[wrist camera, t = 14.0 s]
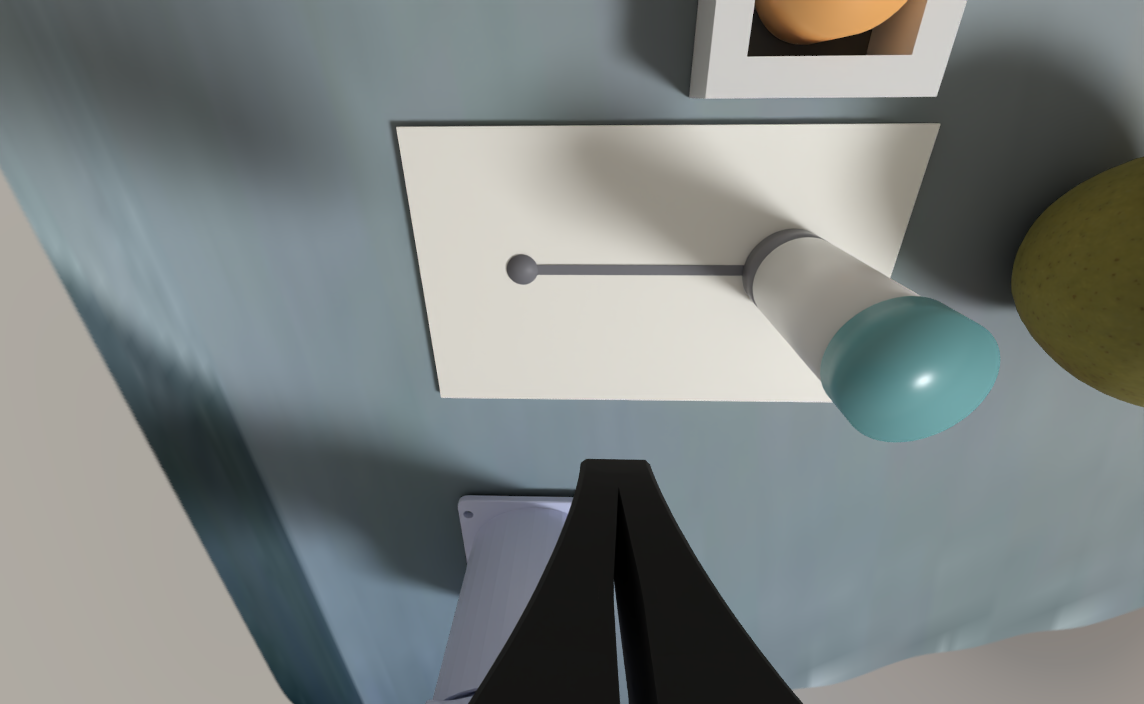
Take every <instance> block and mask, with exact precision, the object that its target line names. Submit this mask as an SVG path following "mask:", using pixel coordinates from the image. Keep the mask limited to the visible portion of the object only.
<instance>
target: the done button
mask: <svg viewBox="0 0 1144 704" xmlns="http://www.w3.org/2000/svg"><path fill="white" fill-rule="evenodd" d="M907 1H908V0H755V7H756V10H757V13H758V15H759V18H760V19H761V21H762V23H763V24H764V26H765V27H766V28H767V29H768V31H769V32H771V33H772V34H773V35H774V36H775V37H777V38H779V39H780V40H782V41H785V42H787V43H791V44H796V45H808V44H814V43H819V42H823V41H828V40H832V39H837V38H841V37H846V36H850V35H855V34H859V33H862V32H865V31H867V30H870V29H872V28H874V27H876V26H878V25H879V24H881V23H882V22H884V21H885V20H887V19H888V18H890V17H891V16H892V15H893V14H894V13H896V12H897V11H898V10H899V9H900V8H901V7H902V6H903V5H904V4H905V3H906V2H907Z"/></svg>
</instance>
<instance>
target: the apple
mask: <svg viewBox="0 0 1144 704" xmlns="http://www.w3.org/2000/svg"><path fill="white" fill-rule="evenodd" d="M1011 292H1012V295H1013V299H1014V302H1015V305H1016V308H1017V311H1018V314H1019V316H1020V318H1021V320H1022V321H1023V323H1024V325H1025V326H1026V328H1027V329H1028V331H1029V333H1030V334H1031V336H1032V337H1033V338H1034V339H1035V341H1036V342H1037V343H1038V344H1039V345H1040V346H1041V347H1042V348H1043V350H1044V351H1045V352H1046V353H1047V354H1048V355H1049V356H1050V357H1051V358H1052V359H1053V360H1054V361H1055V362H1056V363H1058V364H1059V365H1060V366H1061V367H1062V368H1064V369H1065V370H1066V371H1067V372H1069V373H1070V374H1071V375H1073V376H1074V377H1075V378H1077V379H1078V380H1080V381H1082V382H1084V383H1086V384H1087V385H1089V386H1091V387H1093V388H1095V389H1097V390H1098V391H1100V392H1102V393H1104V394H1106V395H1109V396H1111V397H1114V398H1116V399H1119V400H1122V401H1125V402H1128V403H1131V404H1134V405H1137V406H1141V407H1144V157H1141V158H1137V159H1134V160H1132V161H1129V162H1126V163H1124V164H1121V165H1119V166H1116V167H1114V168H1111V169H1109V170H1106V171H1104V172H1102V173H1100V174H1098V175H1096V176H1094V177H1092V178H1090V179H1088V180H1086V181H1084V182H1082V183H1081V184H1079V185H1077V186H1076V187H1074V188H1073V189H1071V190H1070V191H1068V192H1067V193H1065V194H1064V195H1063V196H1061V197H1060V198H1059V199H1057V200H1056V201H1055V202H1054V203H1053V204H1051V205H1050V206H1049V207H1048V208H1047V209H1046V210H1045V211H1044V212H1043V213H1042V214H1041V215H1040V216H1039V217H1038V218H1037V219H1036V221H1035V222H1034V223H1033V225H1032V226H1031V227H1030V229H1029V231H1028V232H1027V234H1026V236H1025V237H1024V239H1023V241H1022V243H1021V245H1020V247H1019V249H1018V252H1017V254H1016V257H1015V261H1014V265H1013V271H1012V279H1011Z"/></svg>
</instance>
